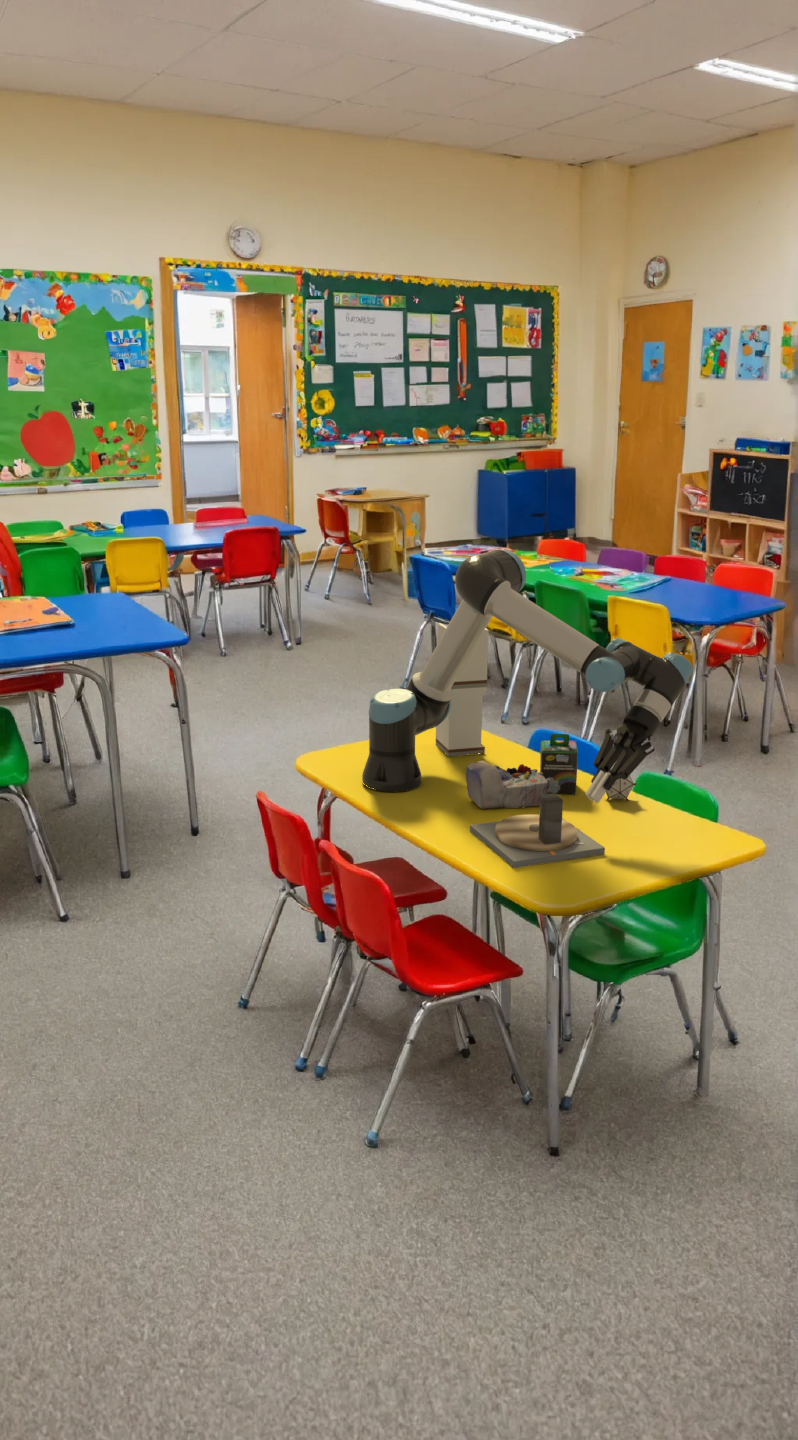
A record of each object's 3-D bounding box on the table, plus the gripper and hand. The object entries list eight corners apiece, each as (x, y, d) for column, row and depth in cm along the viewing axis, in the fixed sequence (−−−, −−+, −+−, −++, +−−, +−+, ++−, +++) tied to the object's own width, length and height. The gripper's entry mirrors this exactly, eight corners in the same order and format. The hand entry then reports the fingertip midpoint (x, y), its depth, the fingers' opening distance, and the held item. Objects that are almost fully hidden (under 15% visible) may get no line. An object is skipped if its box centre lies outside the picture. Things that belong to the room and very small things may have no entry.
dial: (483, 825, 254) (484, 777, 251) (555, 817, 259) (558, 770, 256) (514, 855, 238) (516, 804, 234) (591, 846, 243) (594, 796, 240)
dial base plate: (469, 831, 255) (470, 824, 254) (555, 819, 263) (555, 812, 262) (513, 868, 235) (513, 860, 235) (604, 854, 243) (604, 846, 242)
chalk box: (574, 783, 287) (577, 728, 283) (576, 795, 279) (579, 738, 275) (538, 781, 288) (541, 726, 284) (539, 793, 280) (541, 737, 275)
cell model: (460, 757, 273) (532, 749, 280) (458, 798, 275) (530, 790, 283) (484, 772, 261) (559, 765, 269) (482, 816, 264) (556, 807, 271)
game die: (620, 816, 275) (626, 794, 267) (590, 798, 279) (595, 776, 271) (638, 791, 280) (645, 769, 272) (609, 774, 283) (615, 751, 275)
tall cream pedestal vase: (484, 753, 310) (488, 629, 300) (448, 756, 307) (451, 631, 298) (470, 742, 321) (474, 621, 311) (435, 744, 318) (437, 623, 308)
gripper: (678, 730, 250) (623, 816, 245) (629, 716, 260) (575, 798, 255) (664, 711, 245) (608, 798, 240) (615, 697, 256) (561, 781, 250)
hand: (591, 798), depth 248 cm, fingers closed
